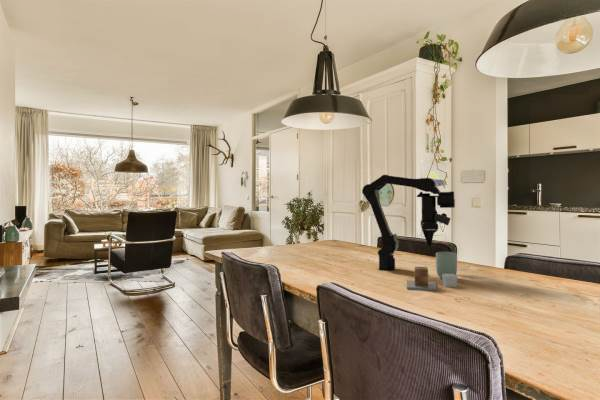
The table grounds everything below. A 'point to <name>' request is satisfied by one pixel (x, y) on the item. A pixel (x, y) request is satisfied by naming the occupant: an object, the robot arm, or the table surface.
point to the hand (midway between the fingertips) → (429, 244)
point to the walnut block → (421, 276)
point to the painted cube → (449, 280)
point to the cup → (446, 263)
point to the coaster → (412, 286)
